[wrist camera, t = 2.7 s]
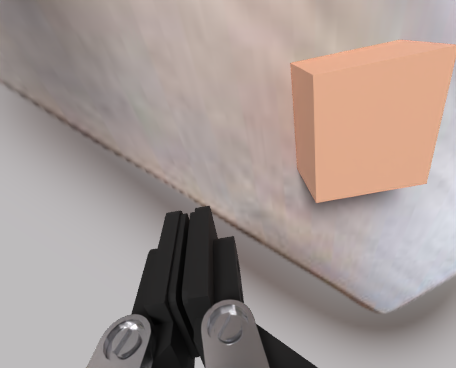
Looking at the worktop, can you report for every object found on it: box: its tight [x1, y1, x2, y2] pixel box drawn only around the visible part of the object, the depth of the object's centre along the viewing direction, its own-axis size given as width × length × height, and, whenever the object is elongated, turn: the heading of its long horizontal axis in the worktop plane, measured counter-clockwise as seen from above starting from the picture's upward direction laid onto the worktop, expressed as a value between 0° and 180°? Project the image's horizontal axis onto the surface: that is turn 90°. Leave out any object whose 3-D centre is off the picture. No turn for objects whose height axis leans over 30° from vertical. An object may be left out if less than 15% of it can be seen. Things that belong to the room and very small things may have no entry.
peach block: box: [290, 40, 456, 203], centre depth 17 cm, size 7×8×5 cm
